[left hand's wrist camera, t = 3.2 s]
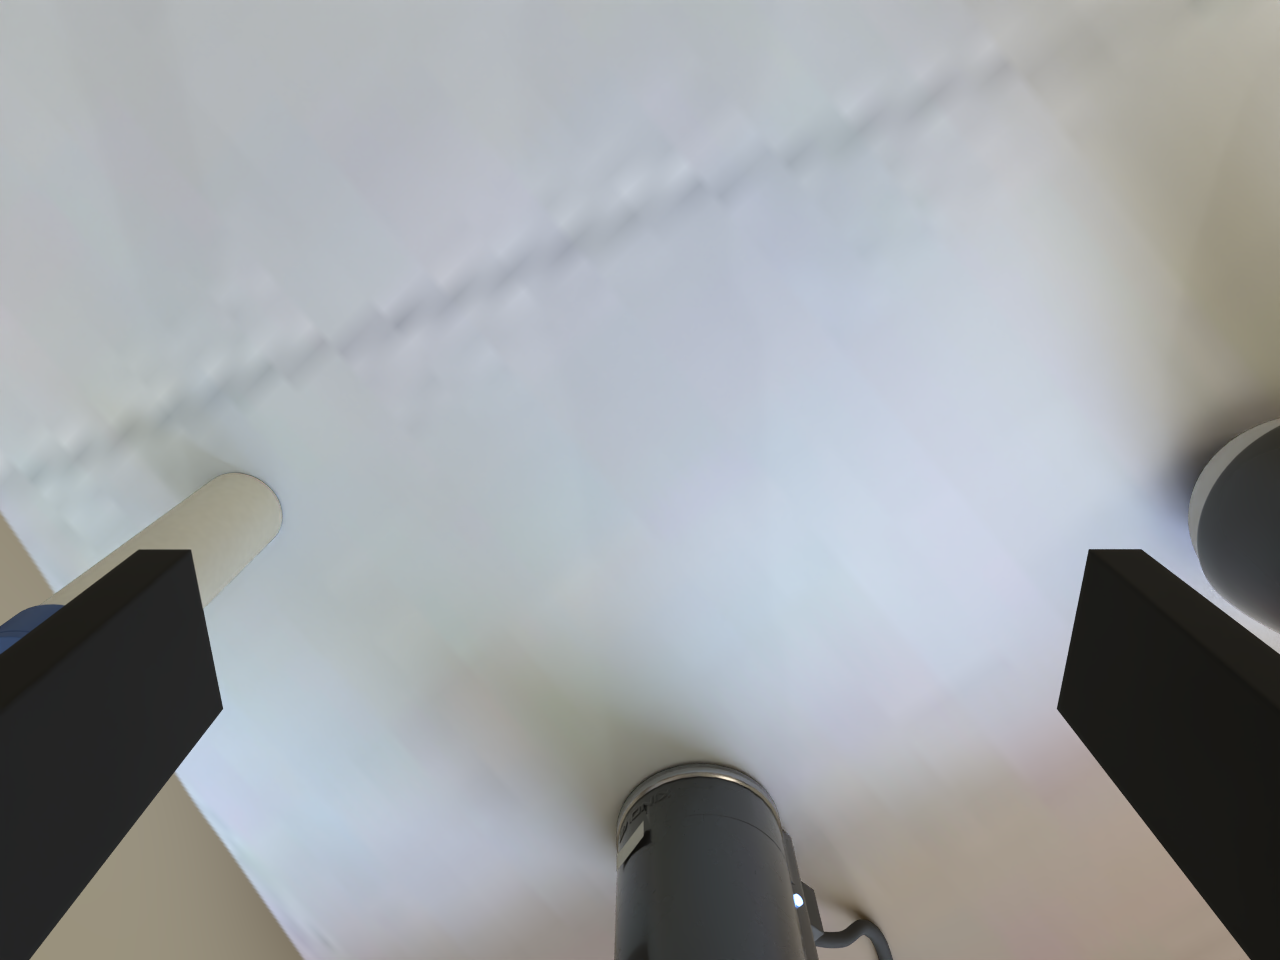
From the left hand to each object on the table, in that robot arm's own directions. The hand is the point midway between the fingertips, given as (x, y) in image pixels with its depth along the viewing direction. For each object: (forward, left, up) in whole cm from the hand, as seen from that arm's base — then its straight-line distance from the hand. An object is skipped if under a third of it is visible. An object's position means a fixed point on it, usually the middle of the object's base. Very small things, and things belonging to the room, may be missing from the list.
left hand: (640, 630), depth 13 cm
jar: (+10, -20, -28) cm, 36 cm away
